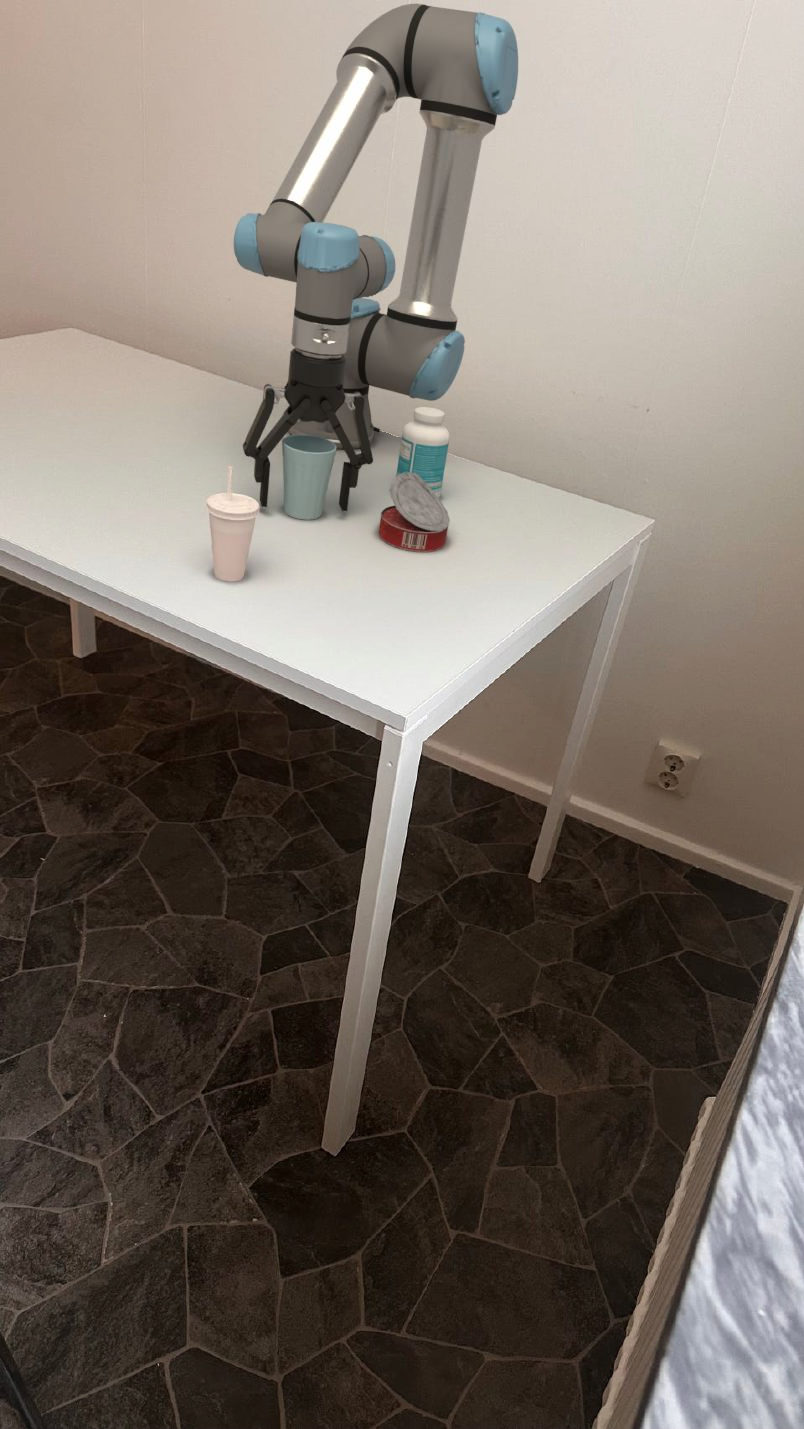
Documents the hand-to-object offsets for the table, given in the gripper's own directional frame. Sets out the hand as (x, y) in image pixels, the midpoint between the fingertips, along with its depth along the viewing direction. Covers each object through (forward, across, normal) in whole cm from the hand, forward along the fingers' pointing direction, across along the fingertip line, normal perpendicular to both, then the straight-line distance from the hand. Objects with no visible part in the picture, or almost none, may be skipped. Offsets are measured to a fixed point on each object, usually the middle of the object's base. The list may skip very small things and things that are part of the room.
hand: (303, 505), depth 145 cm
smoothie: (+1, -13, -22) cm, 25 cm away
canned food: (+1, +15, -7) cm, 17 cm away
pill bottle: (+1, +20, +10) cm, 22 cm away
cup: (+1, 0, 0) cm, 1 cm away
